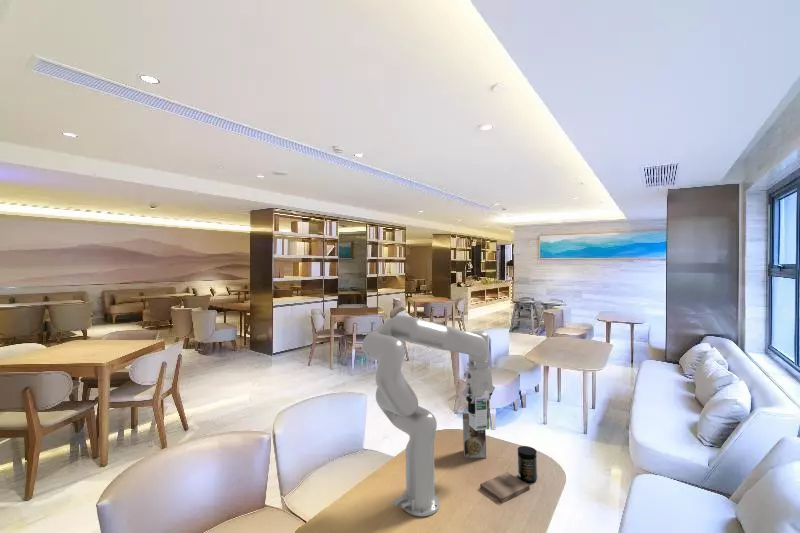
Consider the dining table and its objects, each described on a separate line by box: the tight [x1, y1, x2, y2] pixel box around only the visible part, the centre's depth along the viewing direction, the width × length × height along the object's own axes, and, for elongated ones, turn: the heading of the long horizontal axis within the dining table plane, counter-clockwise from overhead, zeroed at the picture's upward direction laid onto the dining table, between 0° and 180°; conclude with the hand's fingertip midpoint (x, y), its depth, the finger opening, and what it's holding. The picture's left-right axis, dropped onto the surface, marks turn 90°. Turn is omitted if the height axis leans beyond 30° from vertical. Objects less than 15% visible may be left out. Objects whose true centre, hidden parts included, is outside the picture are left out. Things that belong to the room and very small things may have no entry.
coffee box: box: [462, 412, 487, 459], centre depth 153 cm, size 9×6×16 cm
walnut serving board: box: [479, 472, 531, 504], centre depth 128 cm, size 14×10×2 cm
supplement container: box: [517, 445, 538, 484], centre depth 134 cm, size 7×7×10 cm
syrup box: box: [468, 391, 490, 431], centre depth 138 cm, size 6×6×14 cm
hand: (478, 410), depth 138 cm, fingers closed on syrup box, 6 cm apart
